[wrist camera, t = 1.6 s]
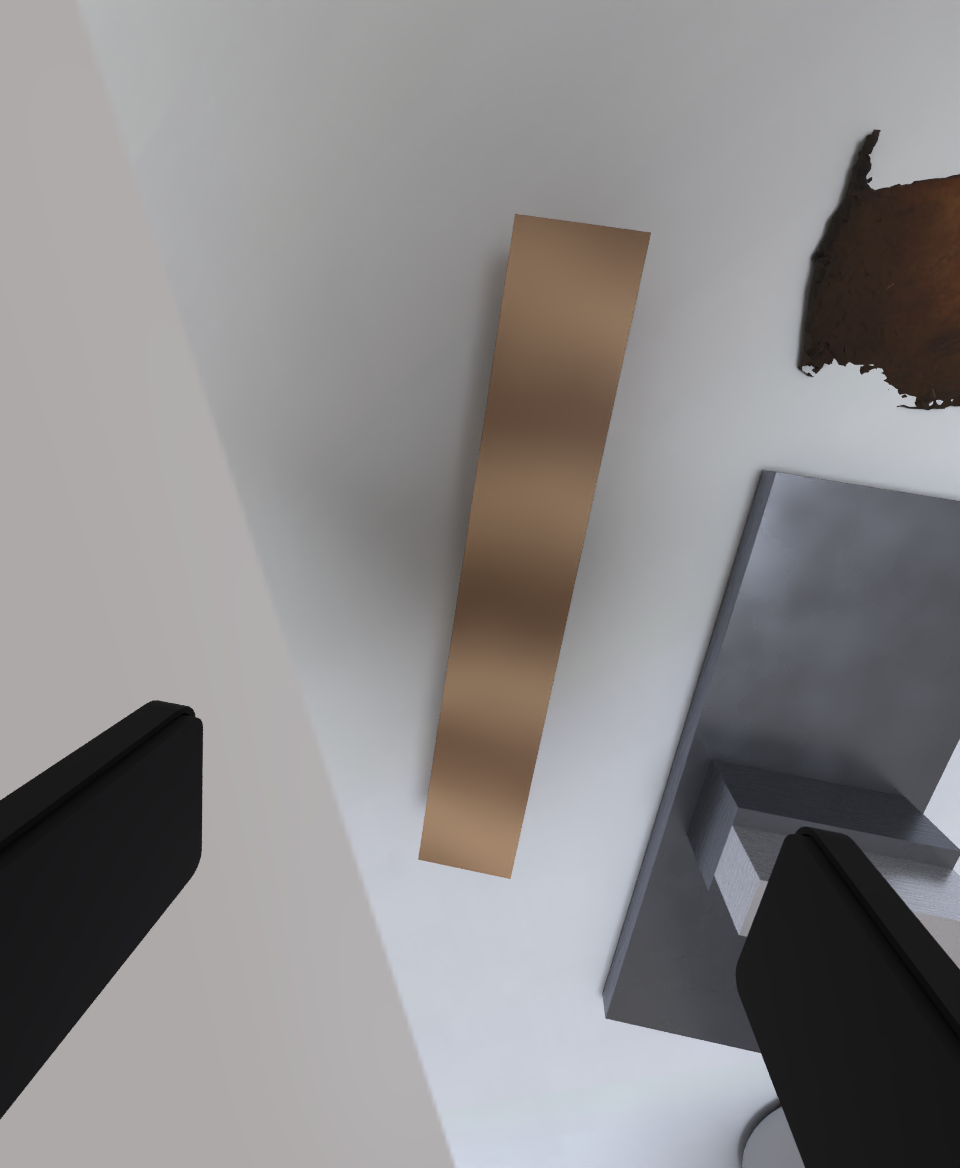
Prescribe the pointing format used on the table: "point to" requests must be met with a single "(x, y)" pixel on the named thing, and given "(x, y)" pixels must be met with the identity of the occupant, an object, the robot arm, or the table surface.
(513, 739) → the walnut bar
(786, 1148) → the cylinder vase
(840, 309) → the parchment
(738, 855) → the stand
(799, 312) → the table surface
